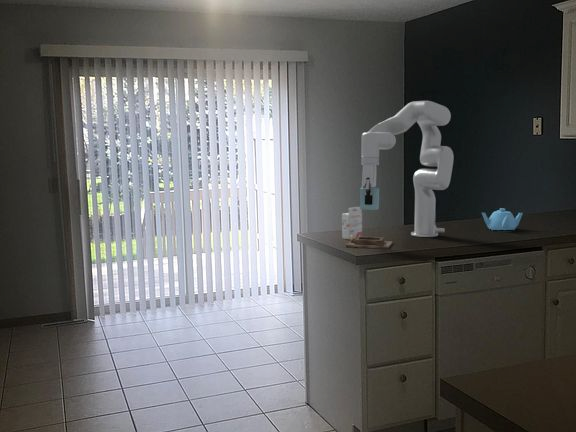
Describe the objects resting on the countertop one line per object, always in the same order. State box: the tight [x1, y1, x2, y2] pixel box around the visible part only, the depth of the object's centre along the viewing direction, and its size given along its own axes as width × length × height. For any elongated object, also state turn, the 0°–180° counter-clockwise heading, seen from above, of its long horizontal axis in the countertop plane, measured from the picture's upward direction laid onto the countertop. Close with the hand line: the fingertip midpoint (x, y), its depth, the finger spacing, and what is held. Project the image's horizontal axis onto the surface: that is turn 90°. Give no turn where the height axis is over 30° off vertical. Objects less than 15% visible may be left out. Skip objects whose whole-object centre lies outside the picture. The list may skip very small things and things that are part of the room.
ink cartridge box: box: [341, 206, 363, 240], centre depth 296 cm, size 9×5×15 cm, turn 126°
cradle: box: [345, 235, 393, 250], centre depth 276 cm, size 18×14×4 cm
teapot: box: [481, 207, 523, 231], centre depth 319 cm, size 15×15×11 cm
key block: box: [359, 187, 380, 211], centre depth 274 cm, size 4×8×9 cm, turn 74°
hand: (369, 203), depth 274 cm, fingers closed on key block, 4 cm apart
